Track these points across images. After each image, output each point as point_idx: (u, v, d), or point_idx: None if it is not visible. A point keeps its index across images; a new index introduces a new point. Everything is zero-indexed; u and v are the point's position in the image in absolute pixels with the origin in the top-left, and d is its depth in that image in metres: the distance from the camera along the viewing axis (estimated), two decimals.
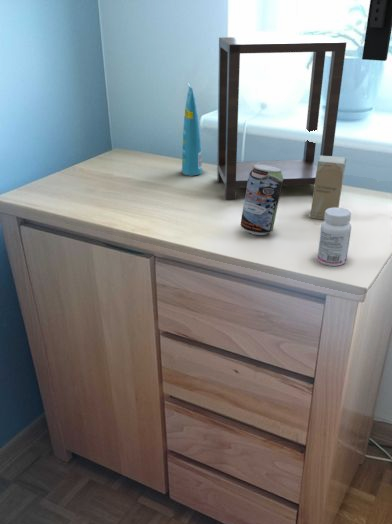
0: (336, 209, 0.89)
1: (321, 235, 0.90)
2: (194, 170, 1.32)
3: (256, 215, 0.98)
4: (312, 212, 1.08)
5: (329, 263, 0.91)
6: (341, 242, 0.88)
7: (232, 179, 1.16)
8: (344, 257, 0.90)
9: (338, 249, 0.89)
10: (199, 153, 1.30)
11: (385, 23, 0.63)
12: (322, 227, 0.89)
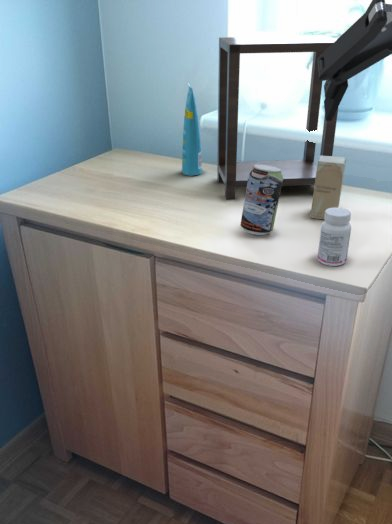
0: (336, 209, 0.89)
1: (321, 235, 0.90)
2: (194, 170, 1.32)
3: (256, 215, 0.98)
4: (312, 212, 1.08)
5: (329, 263, 0.91)
6: (341, 242, 0.88)
7: (232, 179, 1.16)
8: (344, 257, 0.90)
9: (338, 249, 0.89)
10: (199, 153, 1.30)
11: None
12: (322, 227, 0.89)
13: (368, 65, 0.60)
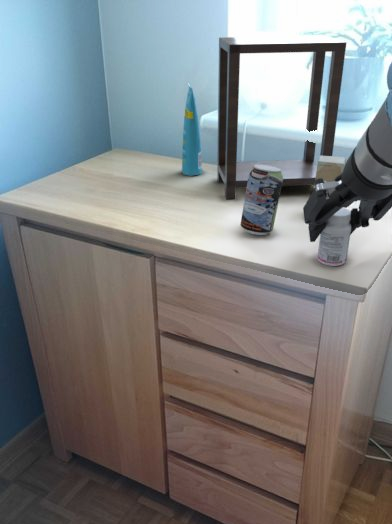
0: None
1: (321, 235, 0.90)
2: (194, 170, 1.32)
3: (256, 215, 0.98)
4: None
5: (329, 263, 0.91)
6: (341, 242, 0.88)
7: (232, 179, 1.16)
8: (344, 257, 0.90)
9: (338, 249, 0.89)
10: (199, 153, 1.30)
11: None
12: None
13: (332, 213, 0.83)
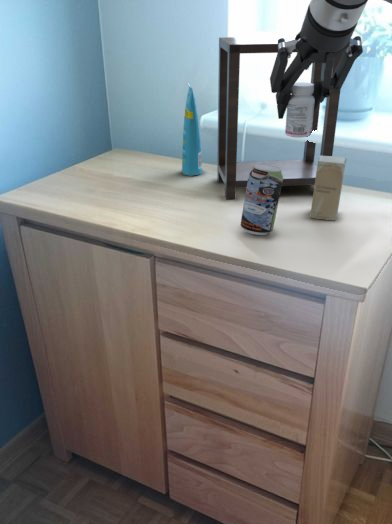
0: (300, 83, 0.97)
1: (287, 108, 0.98)
2: (194, 170, 1.32)
3: (256, 215, 0.98)
4: (312, 212, 1.08)
5: (295, 134, 0.99)
6: (306, 112, 0.97)
7: (232, 179, 1.16)
8: (309, 129, 0.99)
9: (302, 120, 0.98)
10: (199, 153, 1.30)
11: None
12: None
13: (295, 79, 0.92)
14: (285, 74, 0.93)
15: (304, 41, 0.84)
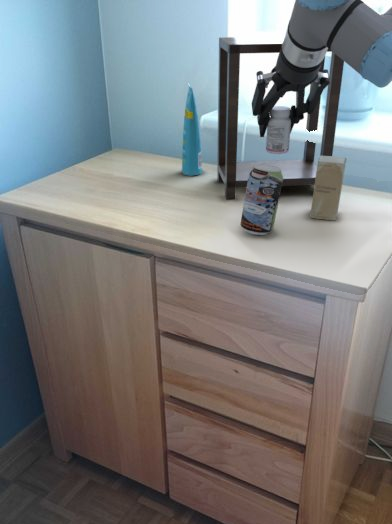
0: (278, 107, 1.12)
1: (267, 128, 1.13)
2: (194, 170, 1.32)
3: (256, 215, 0.98)
4: (312, 212, 1.08)
5: (274, 151, 1.14)
6: (283, 132, 1.12)
7: (232, 179, 1.16)
8: (286, 147, 1.14)
9: (280, 139, 1.12)
10: (199, 153, 1.30)
11: None
12: None
13: (273, 104, 1.06)
14: (264, 100, 1.08)
15: (278, 74, 0.98)
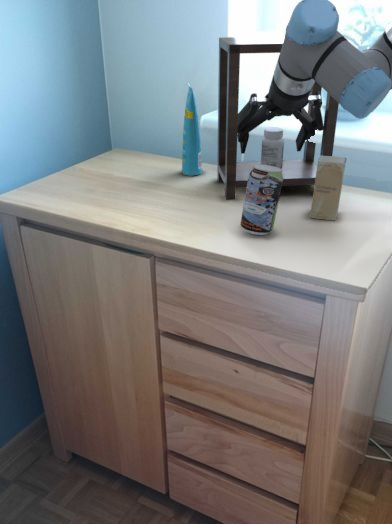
0: (272, 128, 1.18)
1: (262, 148, 1.19)
2: (194, 170, 1.32)
3: (256, 215, 0.98)
4: (312, 212, 1.08)
5: None
6: (276, 152, 1.18)
7: (232, 179, 1.16)
8: (279, 165, 1.20)
9: (274, 158, 1.19)
10: (199, 153, 1.30)
11: None
12: (262, 142, 1.19)
13: (256, 125, 1.12)
14: None
15: (271, 101, 1.05)
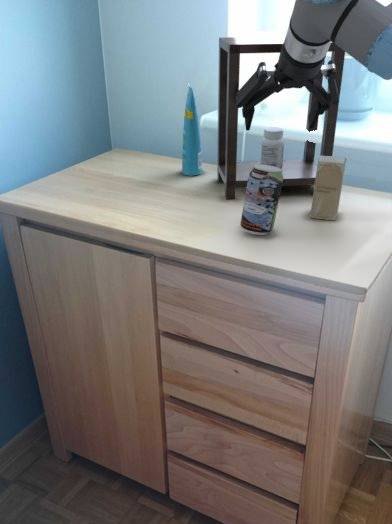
0: (272, 128, 1.18)
1: (262, 148, 1.19)
2: (194, 170, 1.32)
3: (256, 215, 0.98)
4: (312, 212, 1.08)
5: None
6: (276, 152, 1.18)
7: (232, 179, 1.16)
8: (279, 165, 1.20)
9: (274, 158, 1.19)
10: (199, 153, 1.30)
11: None
12: (262, 142, 1.19)
13: (263, 98, 1.03)
14: None
15: (281, 70, 0.97)
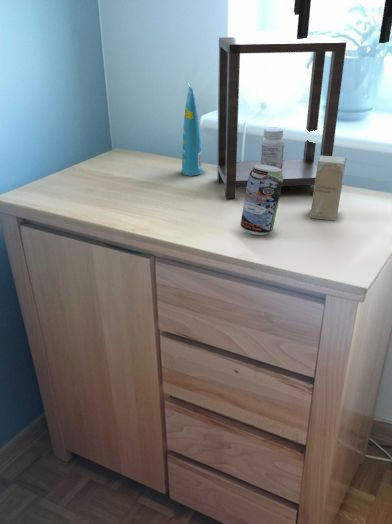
0: (272, 128, 1.18)
1: (262, 148, 1.19)
2: (194, 170, 1.32)
3: (256, 215, 0.98)
4: (312, 212, 1.08)
5: None
6: (276, 152, 1.18)
7: (232, 179, 1.16)
8: (279, 165, 1.20)
9: (274, 158, 1.19)
10: (199, 153, 1.30)
11: None
12: (262, 142, 1.19)
13: None
14: None
15: None
